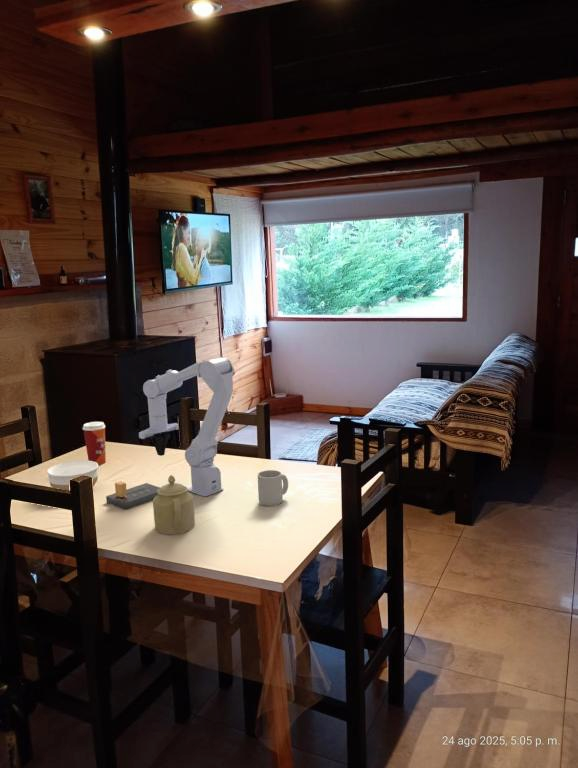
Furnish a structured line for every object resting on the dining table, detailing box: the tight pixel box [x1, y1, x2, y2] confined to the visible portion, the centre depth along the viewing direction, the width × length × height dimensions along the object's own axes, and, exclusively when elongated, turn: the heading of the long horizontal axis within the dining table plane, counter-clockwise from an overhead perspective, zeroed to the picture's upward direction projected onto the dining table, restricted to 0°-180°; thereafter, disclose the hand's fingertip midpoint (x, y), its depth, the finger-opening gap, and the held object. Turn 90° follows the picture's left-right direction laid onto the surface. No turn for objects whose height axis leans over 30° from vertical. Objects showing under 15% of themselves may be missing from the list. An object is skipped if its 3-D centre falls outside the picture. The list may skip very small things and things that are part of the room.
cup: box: [257, 469, 289, 507], centre depth 193 cm, size 7×10×9 cm
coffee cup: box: [81, 421, 107, 466], centre depth 237 cm, size 8×8×15 cm
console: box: [105, 482, 161, 511], centre depth 199 cm, size 10×15×2 cm, turn 138°
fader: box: [114, 480, 127, 497], centre depth 196 cm, size 3×2×4 cm, turn 48°
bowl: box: [46, 459, 99, 491], centre depth 208 cm, size 16×16×8 cm
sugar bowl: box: [152, 474, 196, 535], centre depth 175 cm, size 15×11×15 cm
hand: (160, 454), depth 211 cm, fingers closed
